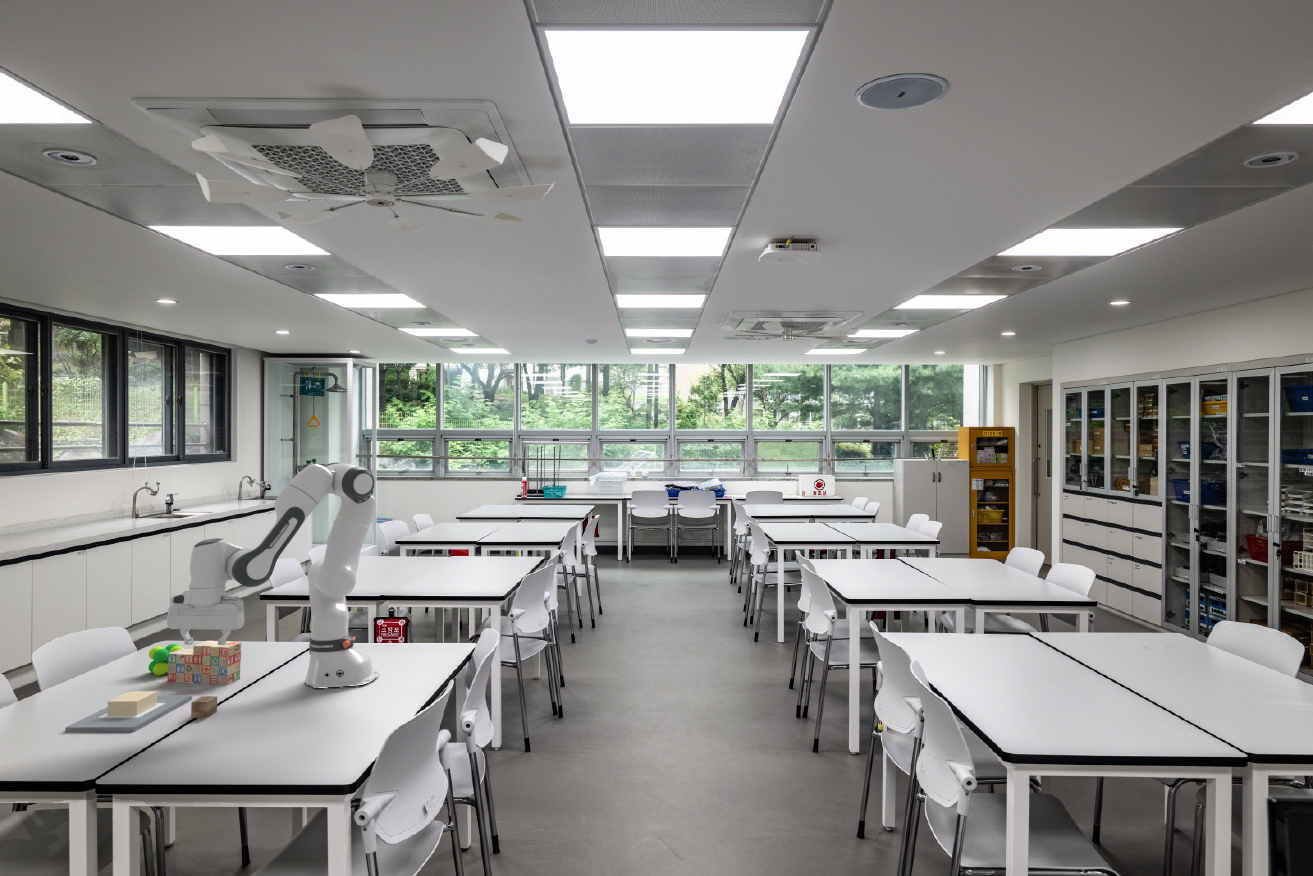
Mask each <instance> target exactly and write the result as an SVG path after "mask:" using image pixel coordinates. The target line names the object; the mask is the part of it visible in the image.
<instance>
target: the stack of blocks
mask: <svg viewBox="0 0 1313 876" xmlns="http://www.w3.org/2000/svg"><path fill="white" fill-rule="evenodd" d="M241 648H242V642H239V641H238V642H237V641H235V642H234V641H229V640H226V644H225V645H218V640H205V641H203V642H200V643H198V644H195V645H193V647H192V648H183V649H180V650H177V651H174V652H171V653H169V654H168V672H167V677H166V678H167V682H169V681H171V683H172V682H174V683H185V682H193V683H192V684H203V683H207V684H208V685H221V686H222V685H223V686H224V685H225V686H227V685H229V683H230V684H232V683H234V682H236V681H238V680H241V659H242V649H241ZM231 682H232V683H231ZM207 684H206V685H207Z"/></svg>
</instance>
